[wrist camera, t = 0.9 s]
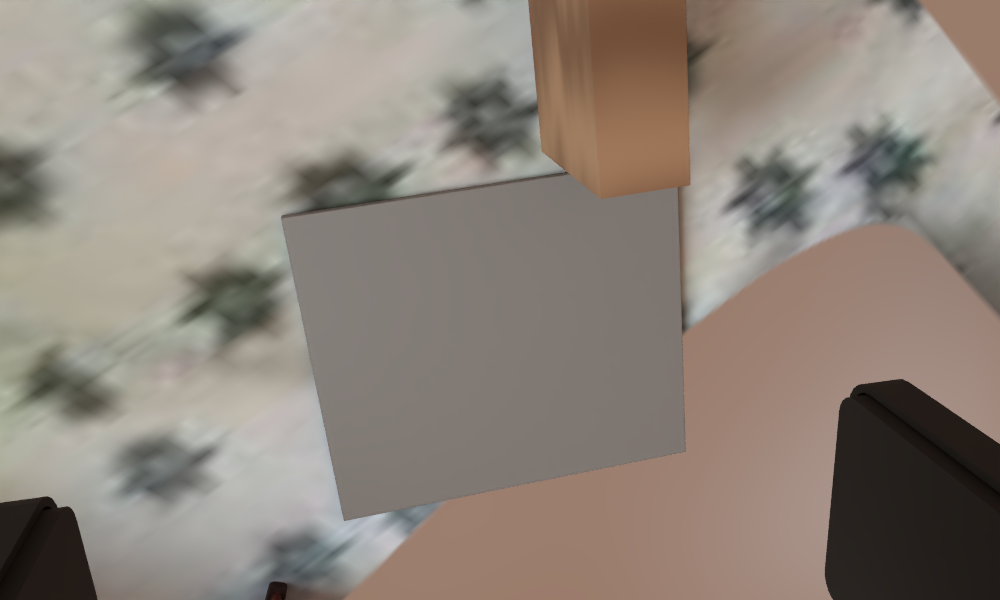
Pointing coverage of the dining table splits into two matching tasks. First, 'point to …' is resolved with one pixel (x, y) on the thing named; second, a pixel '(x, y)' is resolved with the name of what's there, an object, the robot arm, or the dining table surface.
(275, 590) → the mate gourd
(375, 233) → the mat
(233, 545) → the dining table surface
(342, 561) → the dining table surface
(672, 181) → the slab
